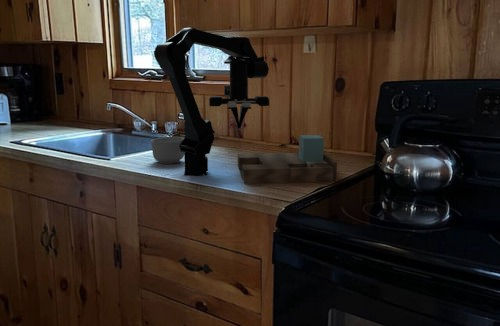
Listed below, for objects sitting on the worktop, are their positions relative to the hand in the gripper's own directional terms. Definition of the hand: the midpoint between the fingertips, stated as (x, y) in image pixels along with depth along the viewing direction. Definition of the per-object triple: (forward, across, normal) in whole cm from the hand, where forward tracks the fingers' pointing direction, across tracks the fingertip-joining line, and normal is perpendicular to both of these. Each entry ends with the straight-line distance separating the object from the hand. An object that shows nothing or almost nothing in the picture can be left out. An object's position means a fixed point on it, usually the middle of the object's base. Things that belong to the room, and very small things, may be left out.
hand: (238, 128), depth 149 cm
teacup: (+12, +23, -8) cm, 27 cm away
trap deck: (+12, -12, +13) cm, 22 cm away
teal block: (+8, -21, +13) cm, 26 cm away
